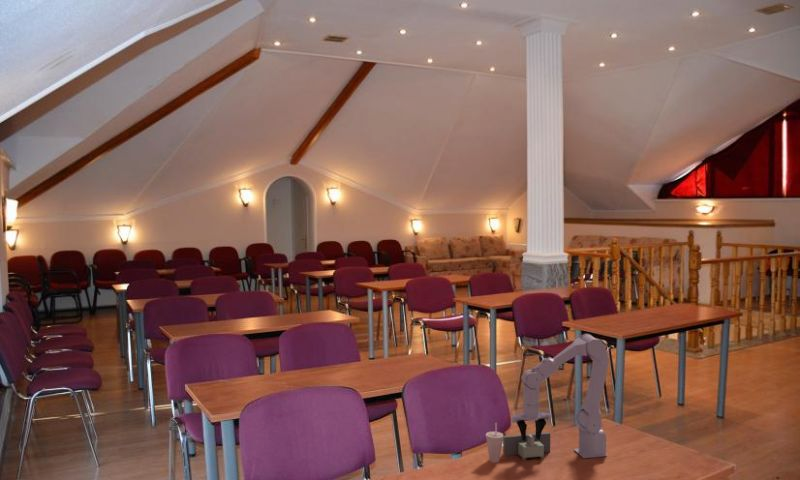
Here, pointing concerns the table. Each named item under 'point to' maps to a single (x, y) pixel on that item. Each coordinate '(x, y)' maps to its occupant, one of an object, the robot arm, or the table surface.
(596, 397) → the robot arm
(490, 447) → the smoothie
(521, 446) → the grey block
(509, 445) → the wall board
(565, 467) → the table surface
